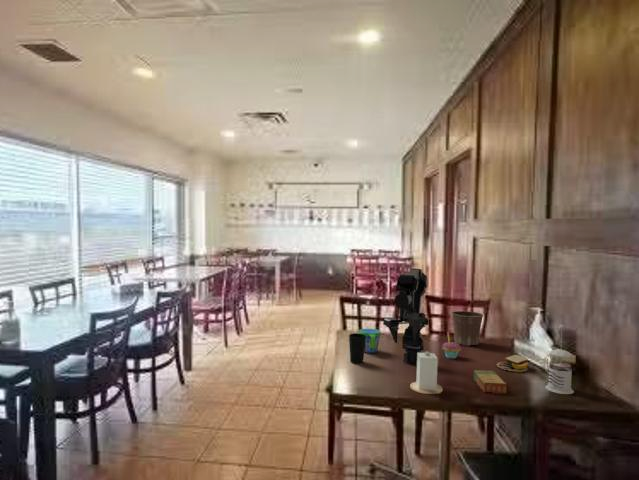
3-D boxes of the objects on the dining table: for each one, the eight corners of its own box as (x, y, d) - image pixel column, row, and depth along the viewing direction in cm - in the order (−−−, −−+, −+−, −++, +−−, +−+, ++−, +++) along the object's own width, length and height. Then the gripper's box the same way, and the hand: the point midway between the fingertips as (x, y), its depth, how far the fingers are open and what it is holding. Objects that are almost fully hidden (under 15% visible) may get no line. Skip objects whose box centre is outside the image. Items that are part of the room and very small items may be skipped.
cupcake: (440, 358, 211) (441, 332, 211) (443, 353, 219) (443, 329, 219) (459, 360, 208) (460, 334, 208) (461, 356, 216) (462, 331, 215)
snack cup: (357, 347, 227) (357, 326, 227) (378, 347, 227) (378, 327, 227) (360, 355, 212) (360, 334, 211) (382, 356, 212) (383, 334, 211)
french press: (561, 395, 166) (564, 328, 166) (535, 385, 177) (537, 321, 176) (580, 392, 170) (582, 326, 170) (553, 382, 181) (555, 320, 180)
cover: (416, 383, 173) (417, 349, 173) (433, 384, 173) (434, 350, 172) (419, 389, 167) (420, 354, 166) (436, 390, 166) (437, 354, 166)
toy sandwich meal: (490, 365, 202) (491, 355, 202) (515, 363, 206) (515, 353, 206) (510, 374, 190) (510, 363, 190) (536, 372, 194) (536, 361, 194)
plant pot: (445, 339, 248) (446, 310, 247) (473, 339, 249) (474, 310, 249) (458, 347, 231) (459, 316, 231) (488, 347, 233) (489, 316, 233)
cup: (364, 365, 197) (365, 338, 196) (347, 363, 198) (347, 336, 198) (366, 360, 204) (366, 334, 204) (349, 359, 206) (350, 332, 205)
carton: (483, 393, 167) (483, 382, 167) (472, 379, 183) (473, 368, 183) (506, 394, 166) (506, 383, 166) (493, 380, 182) (494, 369, 182)
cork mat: (429, 381, 178) (429, 380, 178) (449, 392, 167) (449, 390, 167) (403, 384, 173) (403, 383, 173) (422, 395, 162) (422, 394, 162)
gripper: (397, 309, 176) (396, 348, 176) (437, 307, 183) (436, 345, 183) (383, 304, 186) (382, 341, 186) (421, 302, 193) (420, 338, 193)
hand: (405, 342), depth 187 cm, fingers open, 9 cm apart
